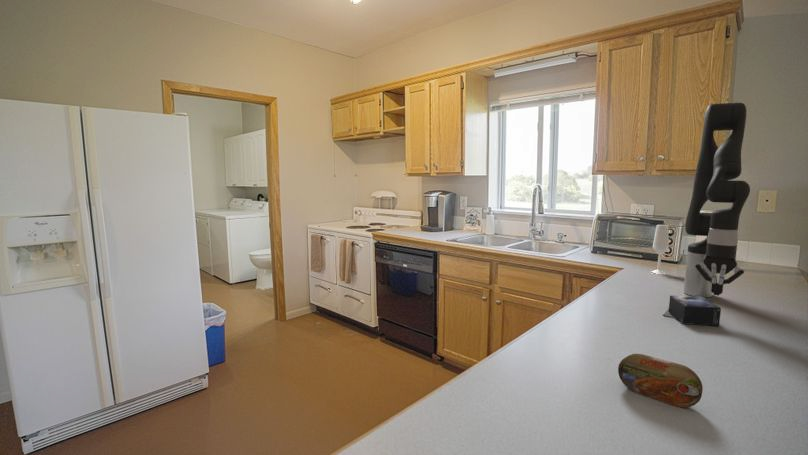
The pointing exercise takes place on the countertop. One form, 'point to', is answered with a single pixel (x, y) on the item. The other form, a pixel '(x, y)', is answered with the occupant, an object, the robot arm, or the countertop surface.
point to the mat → (668, 314)
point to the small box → (694, 310)
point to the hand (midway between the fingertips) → (716, 294)
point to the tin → (661, 380)
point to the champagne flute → (660, 244)
